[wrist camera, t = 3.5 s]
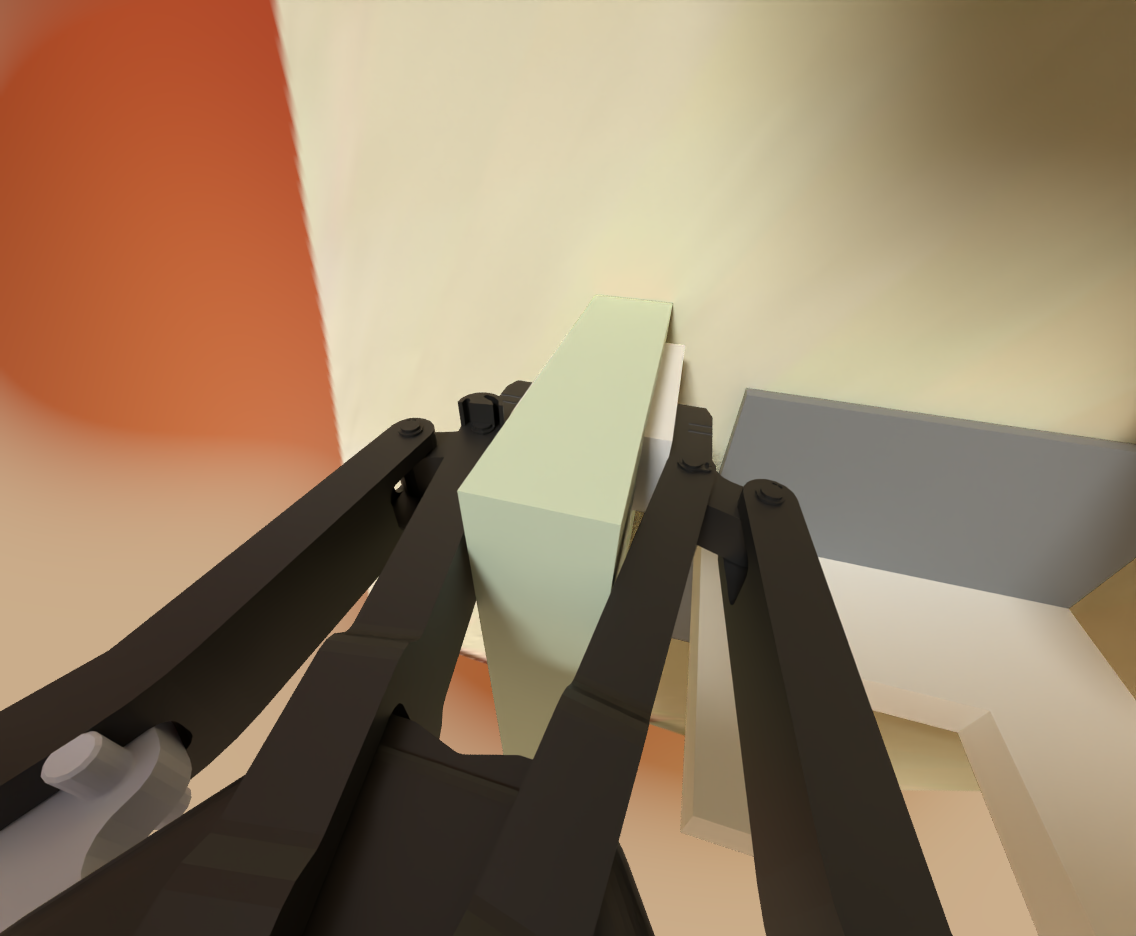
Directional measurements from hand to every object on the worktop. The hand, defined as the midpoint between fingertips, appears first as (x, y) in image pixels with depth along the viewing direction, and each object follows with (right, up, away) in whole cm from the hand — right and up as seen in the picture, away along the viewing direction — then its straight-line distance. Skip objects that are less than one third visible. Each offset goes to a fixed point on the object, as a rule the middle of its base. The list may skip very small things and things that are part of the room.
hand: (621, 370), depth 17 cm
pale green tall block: (0, -3, +4) cm, 5 cm away
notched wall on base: (+12, -9, +4) cm, 16 cm away
